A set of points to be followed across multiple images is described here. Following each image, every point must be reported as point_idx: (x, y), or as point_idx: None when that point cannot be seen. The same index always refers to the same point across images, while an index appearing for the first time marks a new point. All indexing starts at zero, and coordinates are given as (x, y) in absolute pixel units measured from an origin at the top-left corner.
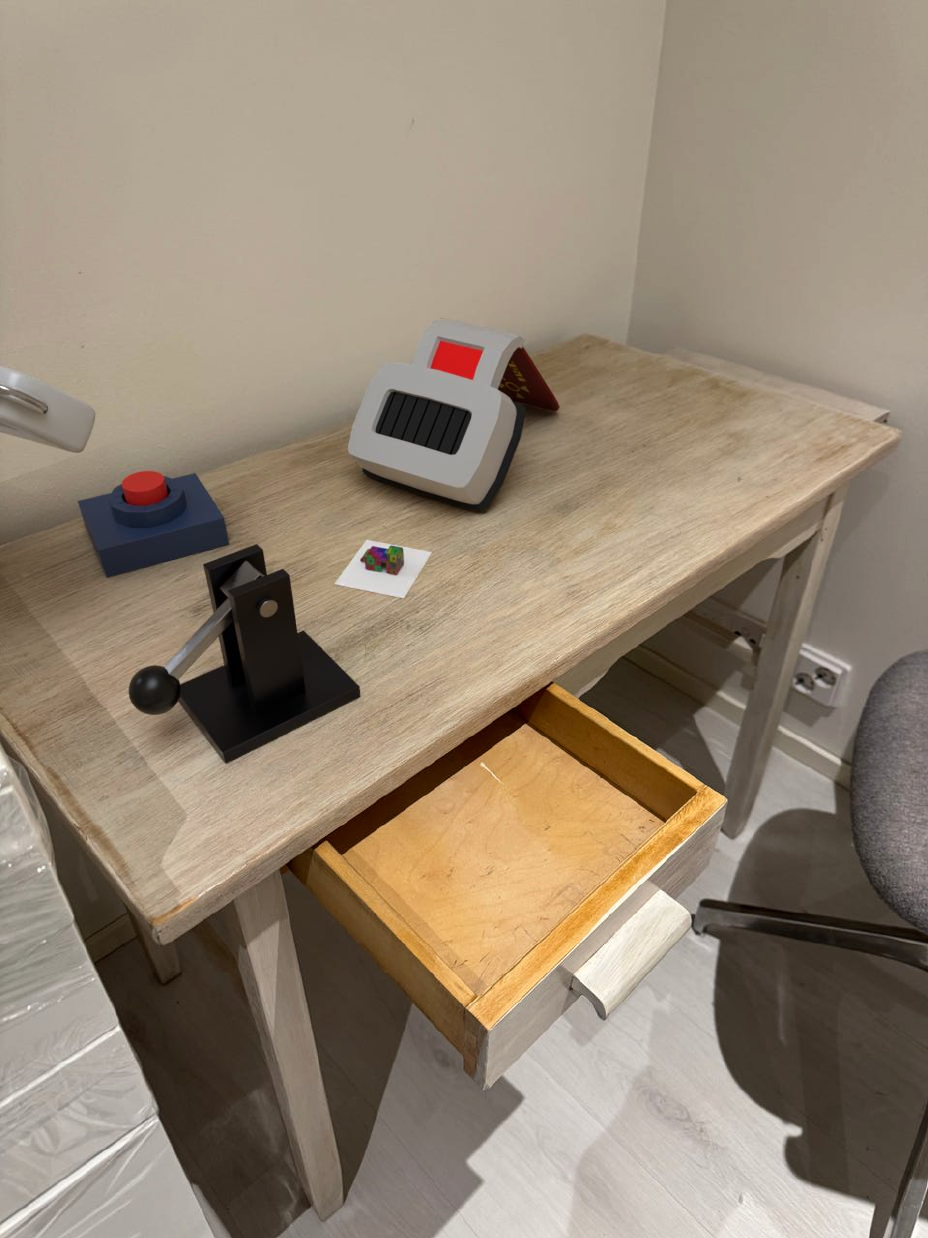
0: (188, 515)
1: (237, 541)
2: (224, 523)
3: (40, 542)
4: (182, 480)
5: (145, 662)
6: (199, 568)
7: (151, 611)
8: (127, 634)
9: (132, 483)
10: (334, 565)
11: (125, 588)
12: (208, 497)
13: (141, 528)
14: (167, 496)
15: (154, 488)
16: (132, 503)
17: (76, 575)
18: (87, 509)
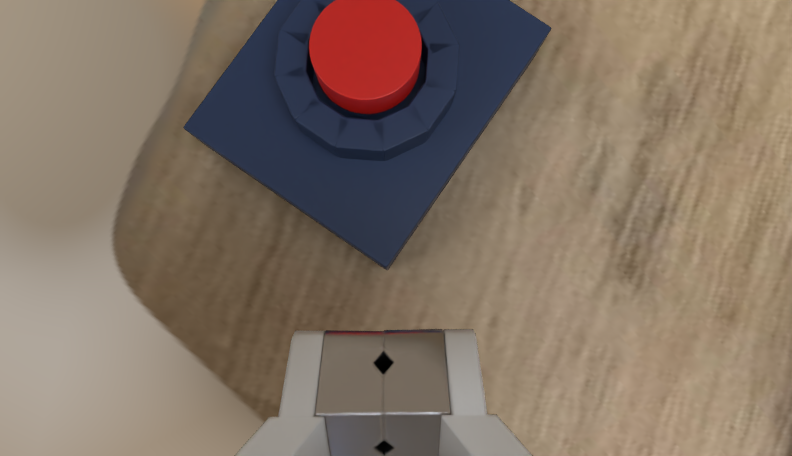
0: (471, 58)
1: None
2: (546, 36)
3: (159, 235)
4: None
5: (653, 445)
6: (535, 154)
7: (550, 315)
8: (561, 395)
9: (349, 68)
10: (773, 21)
11: (448, 279)
12: None
13: (411, 152)
14: None
15: (418, 60)
16: (368, 112)
17: (322, 292)
18: (234, 146)
